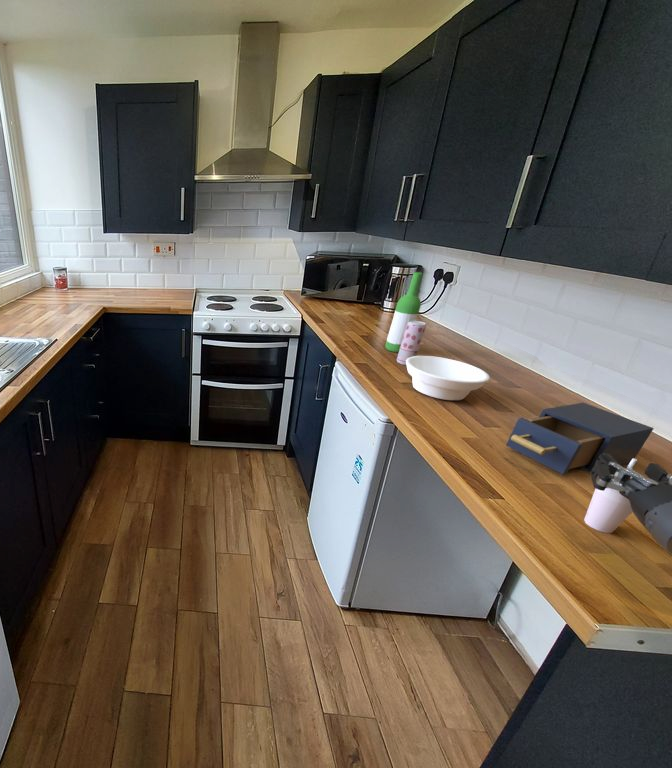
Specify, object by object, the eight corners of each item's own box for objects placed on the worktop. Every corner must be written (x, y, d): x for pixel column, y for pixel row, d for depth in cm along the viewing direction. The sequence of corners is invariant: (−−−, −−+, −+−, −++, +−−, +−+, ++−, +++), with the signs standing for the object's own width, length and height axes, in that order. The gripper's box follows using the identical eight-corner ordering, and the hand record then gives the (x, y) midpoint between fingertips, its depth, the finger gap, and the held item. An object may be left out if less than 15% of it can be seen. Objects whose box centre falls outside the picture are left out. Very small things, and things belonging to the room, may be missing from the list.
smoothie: (570, 507, 76) (607, 445, 70) (618, 522, 72) (661, 458, 66) (577, 527, 71) (617, 462, 65) (629, 544, 67) (676, 477, 62)
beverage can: (395, 358, 149) (407, 319, 143) (413, 361, 147) (425, 321, 141) (396, 363, 144) (408, 323, 138) (414, 366, 142) (427, 325, 136)
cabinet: (591, 473, 86) (612, 437, 82) (526, 442, 97) (543, 409, 93) (632, 462, 90) (654, 428, 87) (566, 434, 101) (583, 402, 98)
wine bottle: (407, 354, 154) (432, 275, 141) (384, 351, 156) (407, 273, 144) (405, 349, 160) (429, 272, 148) (384, 345, 163) (405, 270, 151)
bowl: (389, 375, 133) (396, 352, 130) (459, 382, 130) (468, 359, 126) (412, 403, 115) (421, 377, 111) (494, 412, 111) (506, 385, 108)
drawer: (547, 478, 82) (563, 448, 79) (490, 448, 92) (503, 420, 89) (603, 464, 88) (620, 436, 85) (544, 437, 97) (557, 411, 94)
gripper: (784, 523, 50) (698, 456, 64) (629, 486, 56) (581, 432, 70) (746, 566, 53) (672, 493, 67) (603, 527, 59) (561, 467, 73)
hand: (625, 462), depth 69 cm, fingers open, 5 cm apart
